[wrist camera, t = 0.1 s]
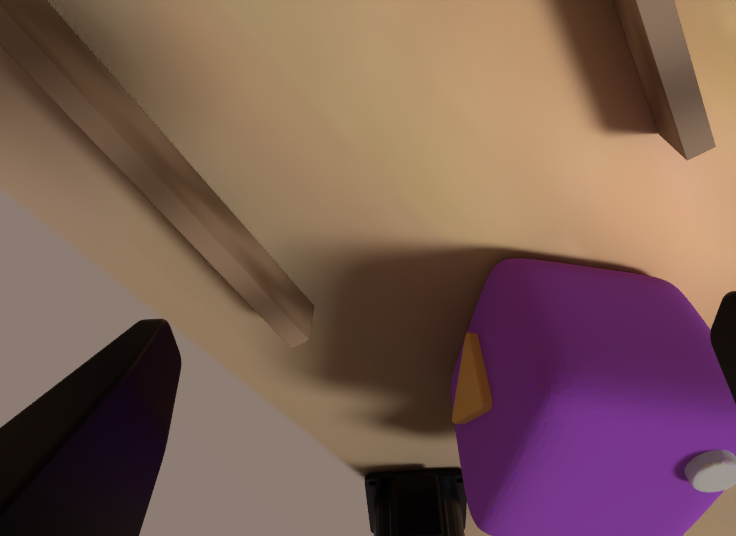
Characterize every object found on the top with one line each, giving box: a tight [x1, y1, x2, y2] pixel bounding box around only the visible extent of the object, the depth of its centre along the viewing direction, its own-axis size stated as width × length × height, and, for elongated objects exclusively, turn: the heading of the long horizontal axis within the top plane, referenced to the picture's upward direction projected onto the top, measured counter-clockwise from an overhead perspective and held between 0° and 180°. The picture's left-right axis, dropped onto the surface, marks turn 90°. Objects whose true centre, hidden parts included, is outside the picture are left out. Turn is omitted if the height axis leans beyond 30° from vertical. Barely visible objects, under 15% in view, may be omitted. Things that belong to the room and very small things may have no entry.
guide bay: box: [0, 0, 716, 348], centre depth 18 cm, size 20×19×5 cm
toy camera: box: [451, 258, 736, 536], centre depth 26 cm, size 11×14×10 cm
